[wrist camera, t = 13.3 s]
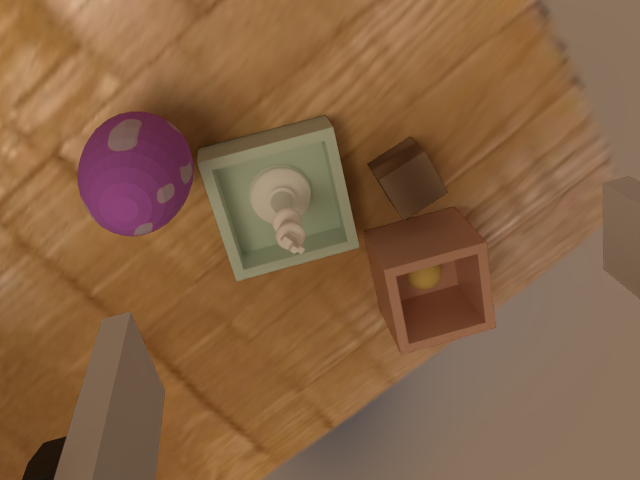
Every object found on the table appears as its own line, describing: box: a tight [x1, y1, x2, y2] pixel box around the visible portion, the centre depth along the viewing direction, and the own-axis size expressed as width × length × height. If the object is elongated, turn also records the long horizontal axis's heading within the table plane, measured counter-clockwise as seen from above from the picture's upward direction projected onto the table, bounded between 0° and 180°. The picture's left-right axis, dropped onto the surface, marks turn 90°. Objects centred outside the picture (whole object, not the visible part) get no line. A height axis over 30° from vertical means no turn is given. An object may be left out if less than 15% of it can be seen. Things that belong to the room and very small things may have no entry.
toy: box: [78, 112, 193, 236], centre depth 39 cm, size 7×7×15 cm
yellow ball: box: [406, 264, 442, 290], centre depth 52 cm, size 3×3×3 cm
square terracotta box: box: [363, 207, 496, 355], centre depth 51 cm, size 8×8×7 cm
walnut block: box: [368, 137, 448, 220], centre depth 48 cm, size 4×4×4 cm
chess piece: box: [249, 164, 311, 254], centre depth 44 cm, size 5×5×10 cm
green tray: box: [197, 115, 360, 281], centre depth 47 cm, size 10×10×4 cm
